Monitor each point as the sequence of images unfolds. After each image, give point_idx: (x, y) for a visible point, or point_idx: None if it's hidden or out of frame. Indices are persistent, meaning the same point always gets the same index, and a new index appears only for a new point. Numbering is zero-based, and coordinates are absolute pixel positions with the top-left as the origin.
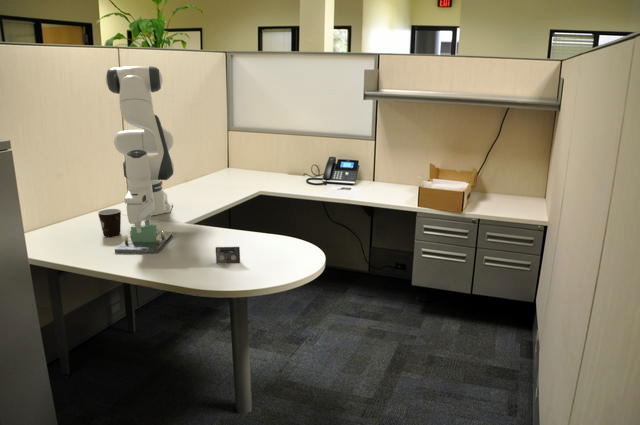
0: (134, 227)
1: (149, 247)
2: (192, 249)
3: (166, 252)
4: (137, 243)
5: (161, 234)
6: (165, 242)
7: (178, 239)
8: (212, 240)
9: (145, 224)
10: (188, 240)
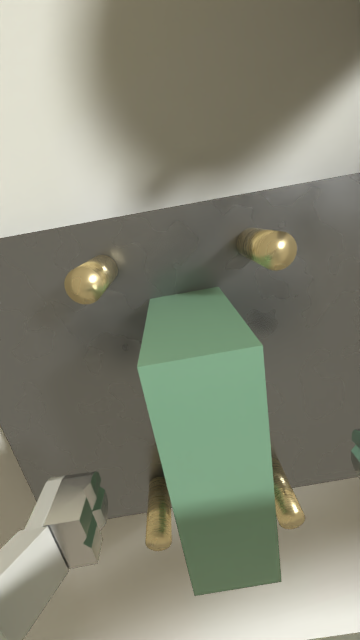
0: (149, 415)
1: (69, 474)
2: (166, 602)
3: None
4: (124, 361)
5: None
6: None
7: (314, 497)
8: (304, 619)
9: (355, 431)
10: (299, 543)
